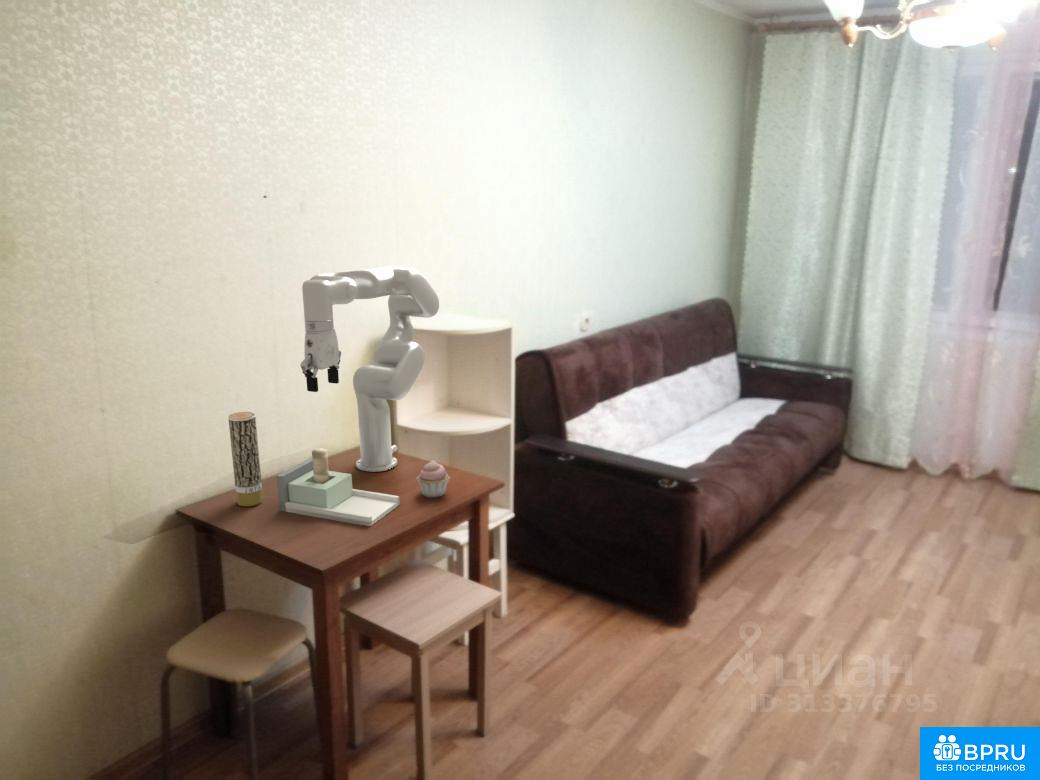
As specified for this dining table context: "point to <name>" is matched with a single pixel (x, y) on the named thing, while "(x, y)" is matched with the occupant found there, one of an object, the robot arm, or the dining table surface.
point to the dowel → (320, 465)
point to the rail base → (351, 510)
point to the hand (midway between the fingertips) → (323, 387)
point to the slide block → (321, 490)
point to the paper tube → (245, 458)
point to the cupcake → (433, 480)
